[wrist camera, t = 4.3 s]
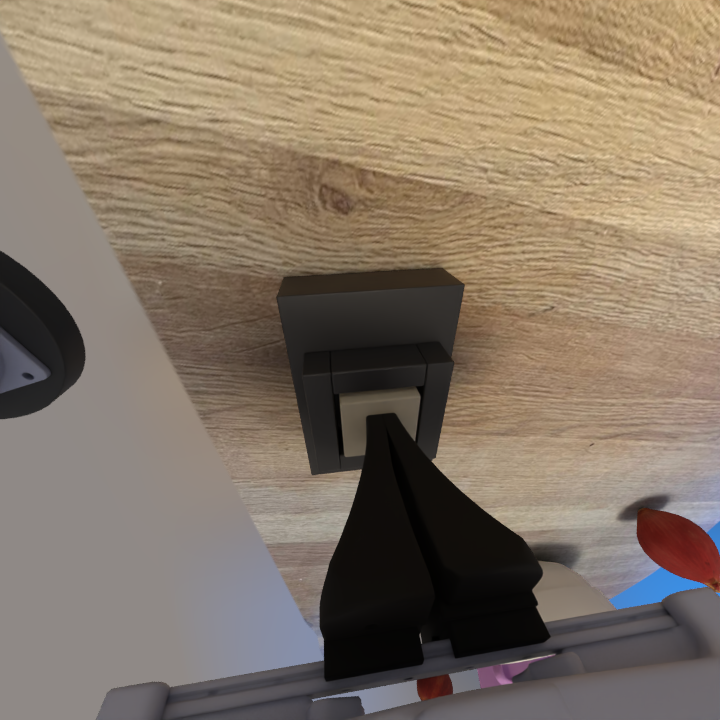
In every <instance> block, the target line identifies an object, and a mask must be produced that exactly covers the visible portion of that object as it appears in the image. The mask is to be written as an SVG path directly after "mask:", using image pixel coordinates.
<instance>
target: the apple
mask: <svg viewBox="0 0 720 720" xmlns="http://www.w3.org/2000/svg"><path fill="white" fill-rule="evenodd" d="M417 691H418V695H419V697H420V699H421V701H424V700H428V699H433V698H437V697H442V696H446V695H451V694H453V687H452V682H451V679H450V677H449V675H448V674H445V675H440V676H435V677H429V678H424V679H418V680H417Z"/></svg>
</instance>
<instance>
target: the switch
mask: <svg viewBox="0 0 720 720" xmlns="http://www.w3.org/2000/svg"><path fill="white" fill-rule="evenodd" d="M339 399H340V411H341V423H342V434H343V446H344V456H345V457H352V456H360V455H365V451H366V417H367V416H368V415H375V414H385V413H395V414H397V416H398V418H399V419H400V421H401V423H402V424H403V426H404V427H405V429H406V430H407V431H408V433H409V434H410V436H411V437H412V438H413V440H414V441H415V437H416V429H417V421H418V413H419V405H420V395H419V392H418V390H417V388H416V386H415V387H405V388H394V389H384V390H374V391H363V392H353V393H342V394H339Z"/></svg>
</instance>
